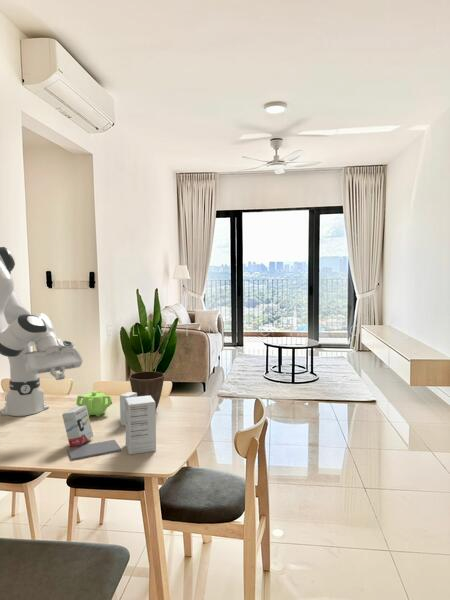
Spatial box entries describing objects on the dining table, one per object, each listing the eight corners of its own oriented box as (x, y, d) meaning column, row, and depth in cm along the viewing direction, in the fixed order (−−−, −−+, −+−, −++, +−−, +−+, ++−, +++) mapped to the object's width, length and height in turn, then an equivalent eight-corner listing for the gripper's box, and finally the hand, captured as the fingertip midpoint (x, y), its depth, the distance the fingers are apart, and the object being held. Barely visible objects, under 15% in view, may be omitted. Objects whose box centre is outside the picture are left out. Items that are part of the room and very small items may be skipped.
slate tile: (67, 449, 142) (67, 447, 142) (114, 441, 150) (114, 439, 150) (71, 460, 134) (71, 458, 134) (121, 450, 142) (121, 449, 142)
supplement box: (156, 451, 141) (156, 402, 140) (128, 455, 138) (128, 404, 137) (151, 440, 150) (151, 394, 149) (125, 444, 147) (124, 397, 146)
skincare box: (129, 420, 172) (129, 391, 172) (137, 421, 170) (137, 392, 170) (119, 424, 167) (119, 395, 166) (128, 426, 165) (128, 396, 164)
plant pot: (152, 418, 174) (152, 380, 173) (122, 414, 179) (122, 377, 178) (170, 408, 188) (170, 373, 187) (142, 404, 193) (141, 370, 192)
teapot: (113, 414, 180) (113, 391, 179) (88, 420, 171) (88, 397, 171) (99, 408, 188) (99, 386, 187) (75, 414, 180) (74, 391, 179)
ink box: (81, 445, 143) (73, 411, 143) (69, 447, 144) (61, 414, 144) (94, 436, 152) (86, 404, 152) (82, 438, 153) (74, 406, 153)
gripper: (23, 347, 153) (33, 378, 146) (77, 341, 167) (89, 369, 160) (19, 358, 156) (29, 388, 150) (72, 351, 171) (84, 379, 164)
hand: (60, 378), depth 155 cm, fingers closed
